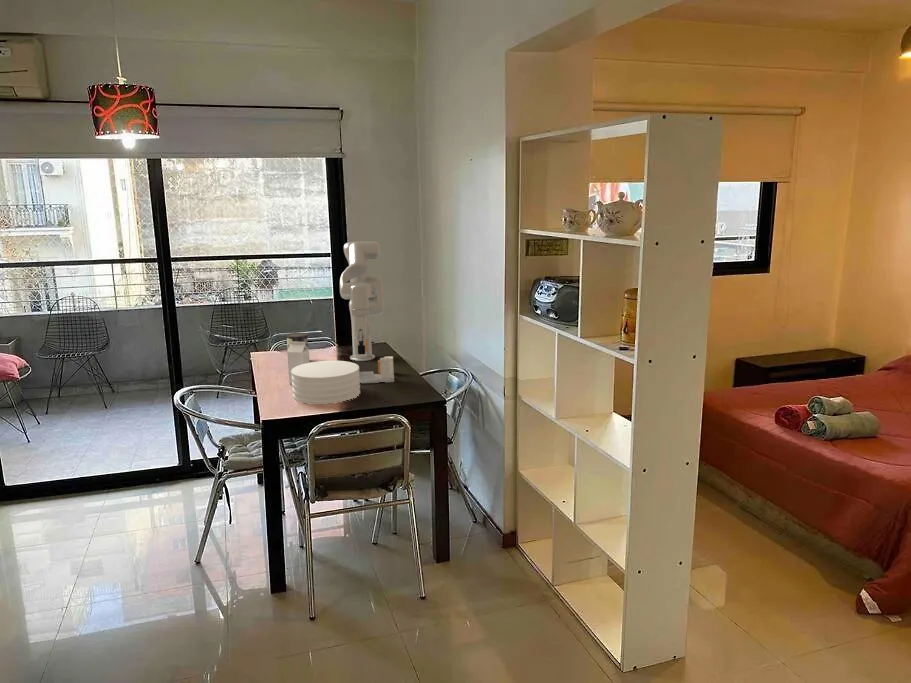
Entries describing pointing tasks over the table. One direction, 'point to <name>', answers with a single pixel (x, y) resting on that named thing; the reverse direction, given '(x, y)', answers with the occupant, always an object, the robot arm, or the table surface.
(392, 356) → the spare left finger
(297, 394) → the plate stack
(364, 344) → the right finger
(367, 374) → the rail
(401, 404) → the table surface
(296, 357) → the milk carton
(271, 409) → the table surface
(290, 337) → the coffee can
